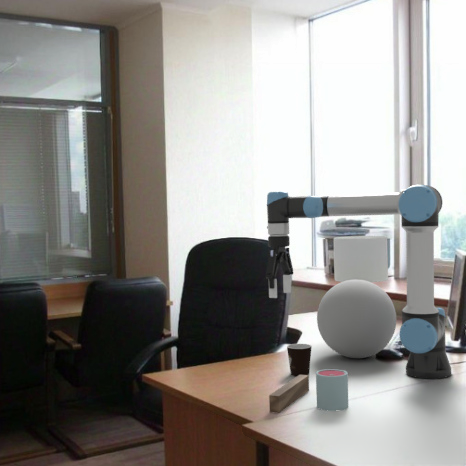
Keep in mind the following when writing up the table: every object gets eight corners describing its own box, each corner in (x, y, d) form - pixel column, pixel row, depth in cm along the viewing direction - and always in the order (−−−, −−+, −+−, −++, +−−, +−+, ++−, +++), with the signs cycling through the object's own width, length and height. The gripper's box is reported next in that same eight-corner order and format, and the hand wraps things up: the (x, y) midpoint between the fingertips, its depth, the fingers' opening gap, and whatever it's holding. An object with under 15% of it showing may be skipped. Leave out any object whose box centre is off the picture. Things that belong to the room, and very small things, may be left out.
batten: (309, 390, 228) (308, 375, 228) (279, 413, 205) (278, 396, 205) (300, 389, 230) (299, 374, 229) (269, 412, 206) (269, 395, 206)
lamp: (397, 337, 312) (394, 235, 310) (377, 347, 292) (375, 238, 291) (348, 333, 324) (346, 235, 322) (327, 342, 305) (324, 238, 303)
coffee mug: (311, 377, 245) (310, 348, 245) (286, 377, 247) (285, 348, 246) (314, 369, 256) (313, 342, 256) (290, 369, 258) (289, 341, 258)
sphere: (314, 350, 290) (313, 276, 289) (389, 348, 289) (387, 274, 288) (321, 367, 260) (319, 285, 259) (404, 365, 259) (402, 283, 258)
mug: (340, 412, 204) (340, 377, 203) (311, 408, 209) (310, 374, 208) (359, 400, 215) (358, 367, 215) (330, 397, 220) (330, 364, 220)
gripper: (281, 233, 264) (283, 290, 265) (254, 237, 242) (256, 299, 243) (300, 233, 261) (302, 291, 262) (275, 237, 239) (277, 300, 240)
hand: (280, 295), depth 252 cm, fingers open, 13 cm apart
